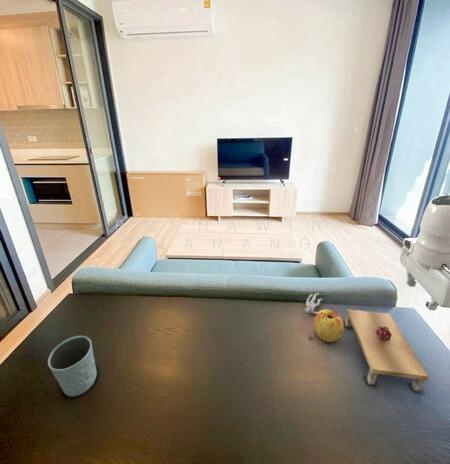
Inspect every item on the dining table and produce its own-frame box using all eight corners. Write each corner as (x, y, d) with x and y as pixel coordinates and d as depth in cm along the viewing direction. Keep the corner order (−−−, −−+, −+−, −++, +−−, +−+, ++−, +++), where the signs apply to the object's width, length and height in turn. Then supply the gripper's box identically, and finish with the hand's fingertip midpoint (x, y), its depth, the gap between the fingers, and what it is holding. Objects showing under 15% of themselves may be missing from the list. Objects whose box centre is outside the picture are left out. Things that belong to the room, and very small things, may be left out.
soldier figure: (327, 306, 99) (322, 318, 88) (316, 310, 101) (310, 322, 90) (316, 288, 101) (310, 297, 91) (306, 292, 103) (299, 302, 93)
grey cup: (106, 370, 73) (99, 340, 69) (78, 406, 64) (68, 375, 60) (80, 360, 76) (71, 331, 72) (49, 393, 67) (38, 363, 63)
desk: (384, 327, 88) (389, 313, 86) (421, 392, 68) (428, 376, 65) (344, 322, 90) (347, 309, 88) (368, 384, 70) (373, 369, 67)
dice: (392, 344, 74) (396, 335, 73) (376, 342, 75) (379, 332, 74) (387, 334, 78) (390, 324, 76) (372, 331, 79) (375, 322, 77)
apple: (341, 331, 86) (346, 309, 83) (339, 352, 79) (344, 329, 75) (314, 322, 90) (318, 300, 87) (310, 341, 83) (314, 318, 79)
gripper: (478, 280, 55) (459, 326, 60) (423, 237, 74) (411, 275, 79) (447, 278, 56) (430, 324, 61) (400, 236, 75) (390, 273, 80)
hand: (419, 296), depth 70 cm, fingers open, 8 cm apart
